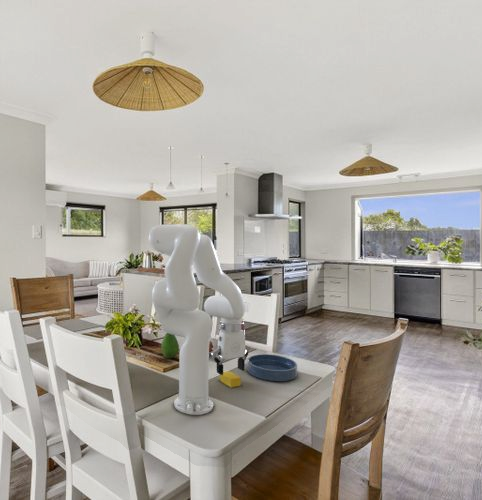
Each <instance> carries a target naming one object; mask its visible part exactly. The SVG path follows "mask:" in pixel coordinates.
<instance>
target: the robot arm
mask: <svg viewBox="0 0 482 500" xmlns="http://www.w3.org/2000/svg"><path fill="white" fill-rule="evenodd" d="M148 243H149V245H150V247H151V248H152V249H153V250H154V251H156V252H158V253H160V254H163V255H166V256H168V259H167V261H166V264H165V266H164V277H165V278H162V279H159V280H158V281H156V282H155V284H154V285H153V287H152V291H151V300H152V305H153V307H154V310H155V314H156V315H157V318H158V321H159V324H160V327H161V329H162V330H163V331H164V332H165V333H169V334H172V335H175V337H180V338H181V337H182V338H184V339H185V341H184V342H183V344H182V345H181V347H180V348H179V352H178V353H179V355H178V357H179V358H178V359H179V362H178V364H179V365H178V374H179V375H178V396H177V397H176V398H175V399H174V402H173V406H174V408H175V409H176V410H177V411H178V412H179V413H182V414H185V415H191V416H199V415H200V416H201V415H204V414H208V413H210V412H211V411H213V409H214V402H213V400H212V399H210V398H209V383H210V382H209V381H210V380H209V379H210V377H209V376H210V375H209V374H210V373H209V372H210V370H209V369H210V366H209V365H210V356H211V358H212V360H213V361H214V362H215V363H216V373H217V374H219V376H220V375H223V372H224V364H223V363H224V361H225V360H226V361H227V360H234V359H237V369H238V370H240V371H241V372H244V371H245V363H246V362H245V361H247V358H248V356H249V353H250V350H251V347H250V346H248V345H247V344H246V337H245V338H244V333H243V330H241V318H243V317H244V315H245V312H246V304H245V301H244V297H243V294H242V291H241V289H240V287H239V286H238V284H237V283H236V282H234V280H233V279H232V278H230V276H229V275H227V273H225V272H224V271H223V270H222V268H221V264H220V261H219V258H218V255H217V252H216V249H215V245H214V243H213V240H212V238H211V237H210V236H209V235H207V234H204V233H201V232H200V230H199V228H198V227H197V226H195V225H193V224H188V223H184V224H183V223H172V224H157V225H154V226H153V227H152V228H151V229H150V231H149V233H148ZM193 269H194V270H193ZM194 271H195V274H196V277H197V280H198V281H199V283H201V284H203V285H205V286H206V287H208V288H210V289H212V290H214V291H216V292H218V293H219V294H220V295H210V296H209V297H207V298H206V300H205V302H204V304H203V309H204V310H201V309H198V308H199V307H200V305H201V296H200V292H199V288H198V285H197V282H196V278H195V274H194ZM212 317H214V318H220V322H221V325H220V324H219V325H218V330H219V329H221V330H220V331H219V333H218V337H217V347H216V348H215V349H213V351H212V352H209V343H210V341H211V337H212V336H211V335H212V330H213V326H214V325H213V318H212Z"/></svg>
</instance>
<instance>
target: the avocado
mask: <svg viewBox="0 0 482 500" xmlns="http://www.w3.org/2000/svg"><path fill="white" fill-rule="evenodd" d="M160 350H161V353H162V355H163V357H164V358H165V359H169V360H171V359H173V358H175V357H176V356H177V355H178V353H179V352H180V344H179V342H178V339H177V336H176V335H172V334H169V333H167V332H165V334H164V336H163V340H162V342H161V349H160Z"/></svg>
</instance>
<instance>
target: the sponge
mask: <svg viewBox="0 0 482 500" xmlns="http://www.w3.org/2000/svg"><path fill="white" fill-rule="evenodd" d="M219 381H220V382H221V383H223V384H224V385H226V386H228V387H229V388H234V387H241V385H242V384H241V383H242V377H241V376H239V375H238V374H235V373H234V372H232V371H229V370H228V371H223V375H220V374H219Z"/></svg>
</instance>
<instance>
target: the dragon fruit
mask: <svg viewBox="0 0 482 500" xmlns="http://www.w3.org/2000/svg"><path fill="white" fill-rule="evenodd" d="M212 351H214V345H213V341H211V340H210V343H209V353H211V352H212Z"/></svg>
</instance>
